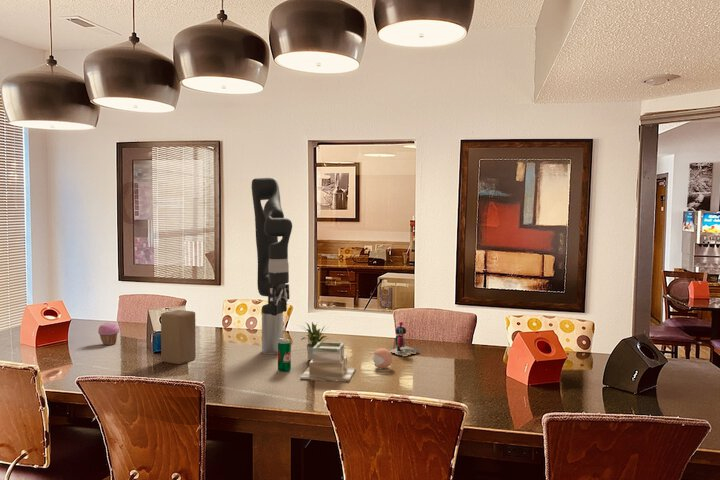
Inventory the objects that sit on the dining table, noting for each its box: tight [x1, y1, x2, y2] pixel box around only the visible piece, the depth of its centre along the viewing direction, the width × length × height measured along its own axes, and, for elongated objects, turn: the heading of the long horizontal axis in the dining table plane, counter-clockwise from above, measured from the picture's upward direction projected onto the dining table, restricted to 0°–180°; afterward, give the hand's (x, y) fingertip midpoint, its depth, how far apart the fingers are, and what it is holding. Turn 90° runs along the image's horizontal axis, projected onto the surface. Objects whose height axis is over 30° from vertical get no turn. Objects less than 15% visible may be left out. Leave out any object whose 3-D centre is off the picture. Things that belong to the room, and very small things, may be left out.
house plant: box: [296, 321, 330, 361], centre depth 230 cm, size 14×14×16 cm
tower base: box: [300, 341, 356, 382], centre depth 209 cm, size 15×18×11 cm
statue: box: [389, 320, 421, 356], centre depth 241 cm, size 11×9×15 cm
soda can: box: [277, 337, 292, 373], centre depth 215 cm, size 5×5×12 cm
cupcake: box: [97, 322, 120, 346], centre depth 254 cm, size 9×9×10 cm
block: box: [160, 309, 197, 365], centre depth 227 cm, size 10×10×20 cm
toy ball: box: [372, 347, 393, 369], centre depth 218 cm, size 8×8×8 cm
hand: (279, 313), depth 212 cm, fingers open, 8 cm apart
